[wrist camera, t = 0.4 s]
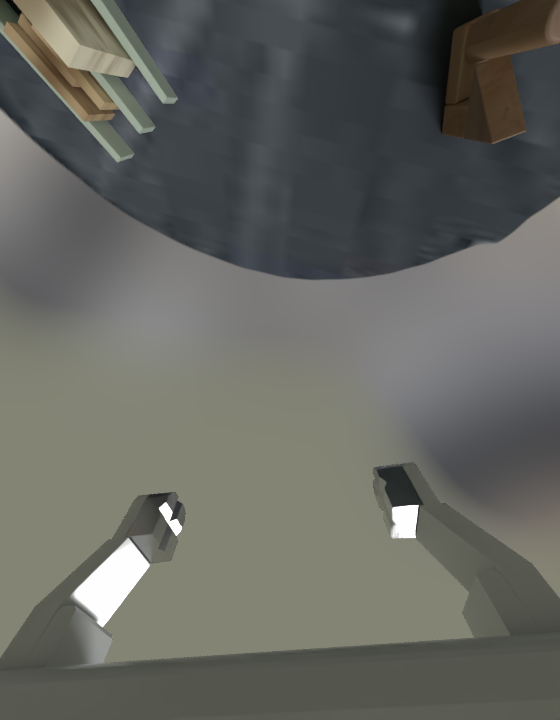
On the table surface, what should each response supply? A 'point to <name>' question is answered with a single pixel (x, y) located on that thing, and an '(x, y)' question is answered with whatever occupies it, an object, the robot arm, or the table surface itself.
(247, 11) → the table surface
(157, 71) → the rack
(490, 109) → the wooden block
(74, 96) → the offcut stack
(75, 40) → the beige brown rectangular slab
